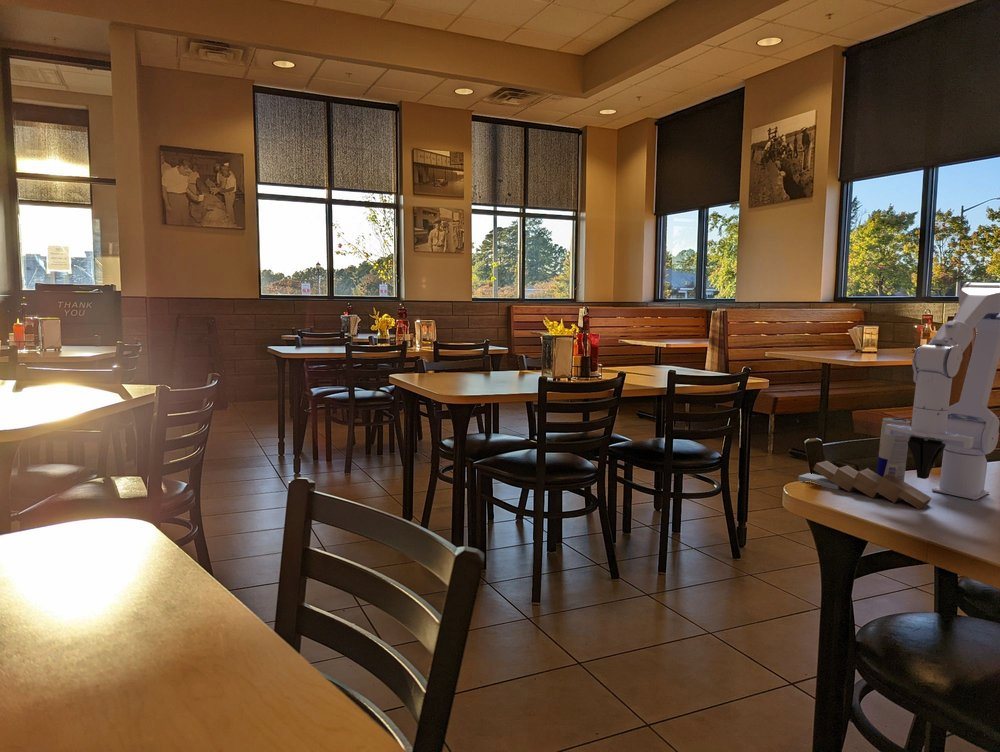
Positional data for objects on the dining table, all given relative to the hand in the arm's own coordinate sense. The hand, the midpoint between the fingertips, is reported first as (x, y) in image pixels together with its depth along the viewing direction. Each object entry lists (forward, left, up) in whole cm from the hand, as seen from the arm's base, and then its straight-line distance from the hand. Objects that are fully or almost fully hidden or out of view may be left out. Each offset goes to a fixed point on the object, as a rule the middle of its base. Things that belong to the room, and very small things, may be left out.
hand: (922, 477), depth 133 cm
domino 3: (0, -7, -5) cm, 9 cm away
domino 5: (0, +1, -5) cm, 5 cm away
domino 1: (0, -15, -6) cm, 16 cm away
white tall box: (-8, -8, -6) cm, 13 cm away
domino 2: (0, -12, -5) cm, 13 cm away
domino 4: (0, -3, -5) cm, 6 cm away
